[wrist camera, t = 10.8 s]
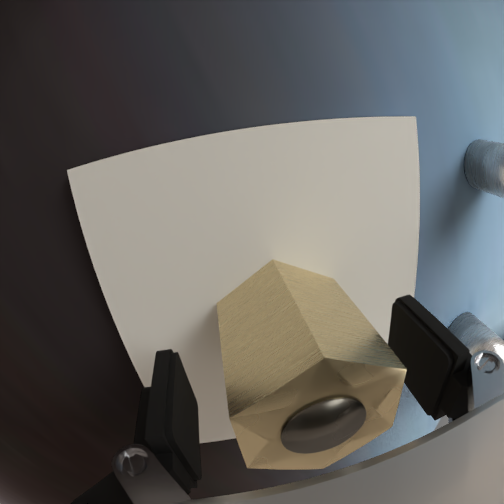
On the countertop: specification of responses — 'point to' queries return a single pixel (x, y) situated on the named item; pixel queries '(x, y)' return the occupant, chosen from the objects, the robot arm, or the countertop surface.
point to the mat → (247, 231)
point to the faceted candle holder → (303, 370)
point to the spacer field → (500, 184)
